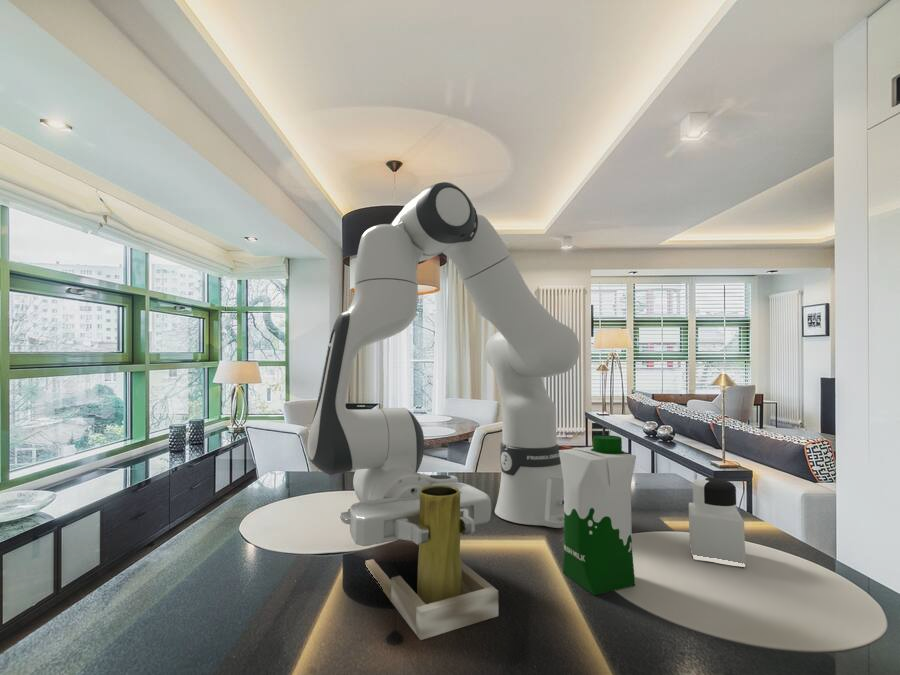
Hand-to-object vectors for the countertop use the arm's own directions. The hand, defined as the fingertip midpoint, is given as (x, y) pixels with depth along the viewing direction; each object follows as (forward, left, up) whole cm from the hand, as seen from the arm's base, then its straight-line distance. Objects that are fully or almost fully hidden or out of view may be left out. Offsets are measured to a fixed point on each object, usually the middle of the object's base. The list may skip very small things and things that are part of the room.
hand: (447, 532), depth 56 cm
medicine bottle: (-46, +6, -10) cm, 47 cm away
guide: (0, -6, -10) cm, 12 cm away
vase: (0, -2, -10) cm, 10 cm away
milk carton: (-23, +3, -10) cm, 25 cm away
